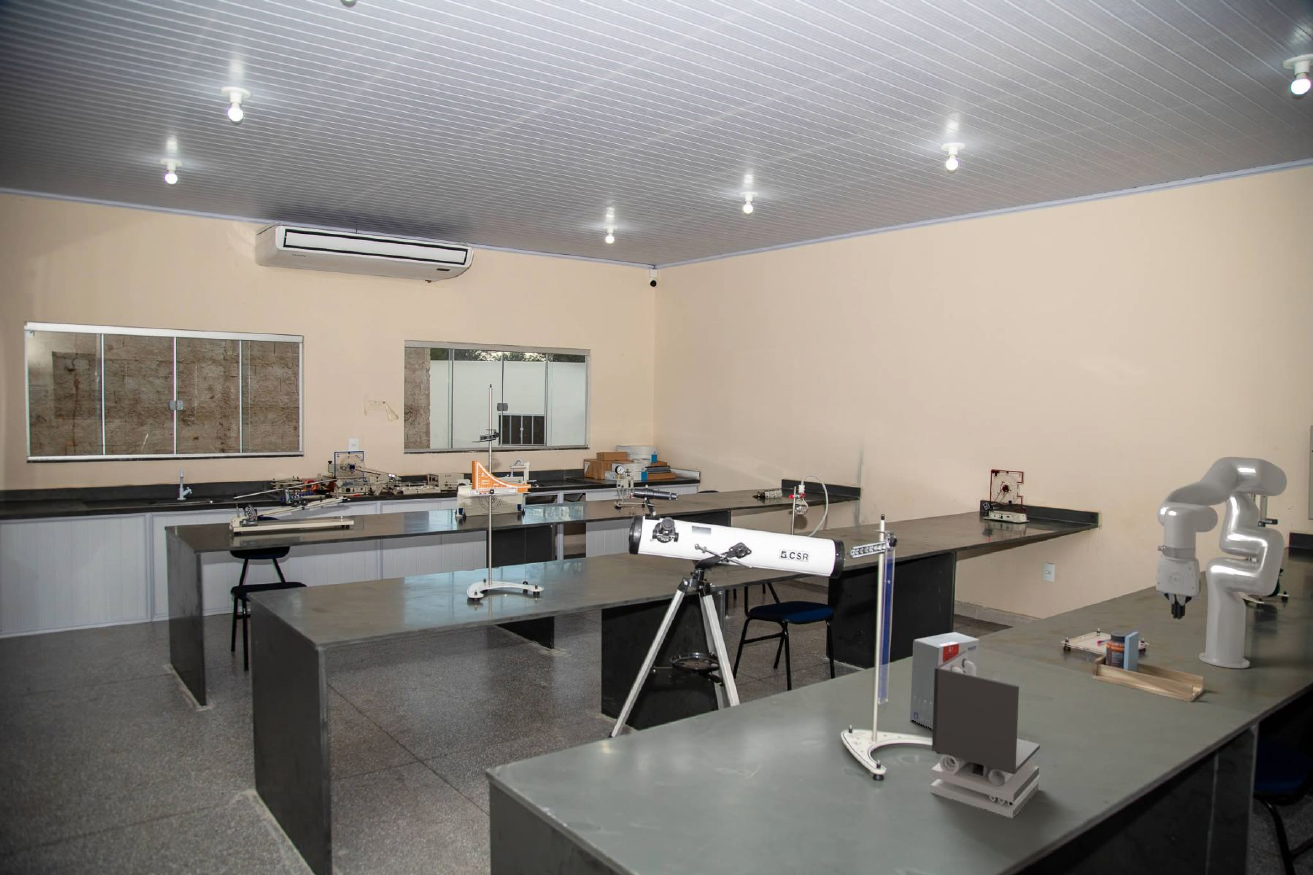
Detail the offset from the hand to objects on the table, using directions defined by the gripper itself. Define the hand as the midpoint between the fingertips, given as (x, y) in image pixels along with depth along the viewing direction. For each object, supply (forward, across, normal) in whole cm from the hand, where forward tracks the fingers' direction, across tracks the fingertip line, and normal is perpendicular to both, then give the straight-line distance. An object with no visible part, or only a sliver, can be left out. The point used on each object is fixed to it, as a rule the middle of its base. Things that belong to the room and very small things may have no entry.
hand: (1178, 617), depth 233 cm
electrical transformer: (+13, -6, -104) cm, 105 cm away
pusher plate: (+17, -9, -9) cm, 21 cm away
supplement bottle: (+17, -13, -8) cm, 23 cm away
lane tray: (+18, -5, -9) cm, 20 cm away
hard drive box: (+14, -30, -76) cm, 82 cm away
